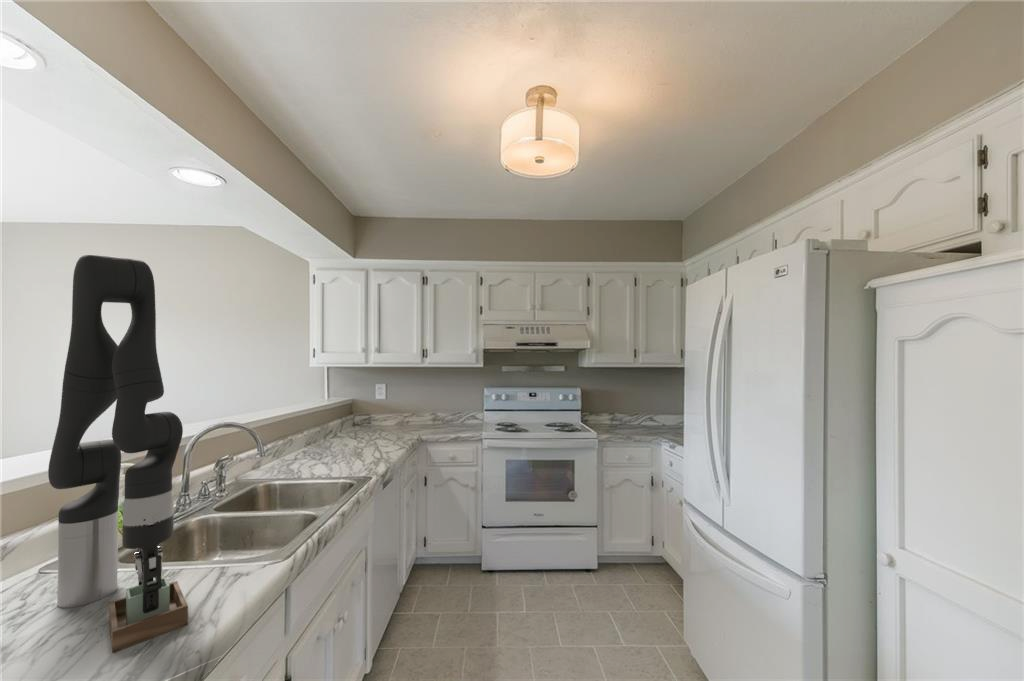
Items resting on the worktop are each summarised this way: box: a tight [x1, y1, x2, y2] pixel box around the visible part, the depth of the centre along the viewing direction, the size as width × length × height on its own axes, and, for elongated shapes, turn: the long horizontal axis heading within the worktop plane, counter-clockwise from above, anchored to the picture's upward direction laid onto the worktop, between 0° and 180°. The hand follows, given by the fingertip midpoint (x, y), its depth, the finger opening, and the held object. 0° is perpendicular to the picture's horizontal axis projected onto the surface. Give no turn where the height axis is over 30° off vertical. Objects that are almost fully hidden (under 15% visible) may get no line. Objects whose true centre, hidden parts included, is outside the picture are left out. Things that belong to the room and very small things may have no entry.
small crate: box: [125, 576, 170, 625], centre depth 81 cm, size 5×6×6 cm
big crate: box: [108, 580, 189, 654], centre depth 81 cm, size 13×10×4 cm
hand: (148, 601), depth 81 cm, fingers open, 8 cm apart
